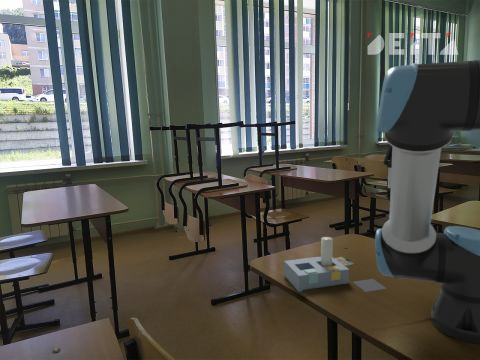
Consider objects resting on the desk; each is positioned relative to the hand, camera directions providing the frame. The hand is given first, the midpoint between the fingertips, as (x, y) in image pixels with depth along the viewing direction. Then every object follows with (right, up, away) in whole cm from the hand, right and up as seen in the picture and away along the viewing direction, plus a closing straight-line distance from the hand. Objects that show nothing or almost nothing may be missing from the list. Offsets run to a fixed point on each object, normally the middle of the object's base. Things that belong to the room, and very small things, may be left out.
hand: (406, 191), depth 115 cm
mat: (-13, -28, -4) cm, 31 cm away
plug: (-24, -26, +2) cm, 36 cm away
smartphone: (-20, -26, +13) cm, 36 cm away
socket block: (-27, -28, +2) cm, 39 cm away
